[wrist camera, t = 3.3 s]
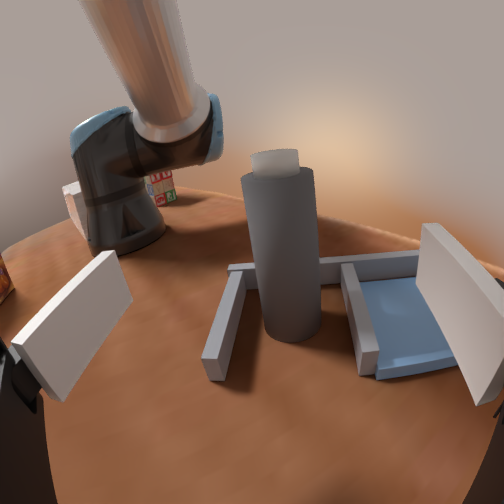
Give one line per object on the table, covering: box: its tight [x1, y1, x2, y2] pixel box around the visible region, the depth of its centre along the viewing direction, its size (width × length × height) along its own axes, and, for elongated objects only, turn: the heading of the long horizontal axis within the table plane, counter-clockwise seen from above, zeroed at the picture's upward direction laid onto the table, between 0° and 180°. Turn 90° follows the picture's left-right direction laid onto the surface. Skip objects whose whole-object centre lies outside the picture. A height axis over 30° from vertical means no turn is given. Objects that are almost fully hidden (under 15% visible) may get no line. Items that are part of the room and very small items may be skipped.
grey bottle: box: [241, 149, 321, 342], centre depth 22 cm, size 5×5×14 cm
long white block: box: [62, 181, 88, 242], centre depth 67 cm, size 32×11×11 cm, turn 41°
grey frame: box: [201, 250, 458, 381], centre depth 24 cm, size 14×24×2 cm, turn 83°
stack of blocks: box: [144, 171, 177, 207], centre depth 76 cm, size 21×6×12 cm, turn 46°
